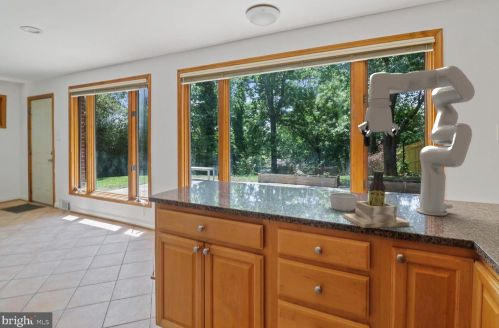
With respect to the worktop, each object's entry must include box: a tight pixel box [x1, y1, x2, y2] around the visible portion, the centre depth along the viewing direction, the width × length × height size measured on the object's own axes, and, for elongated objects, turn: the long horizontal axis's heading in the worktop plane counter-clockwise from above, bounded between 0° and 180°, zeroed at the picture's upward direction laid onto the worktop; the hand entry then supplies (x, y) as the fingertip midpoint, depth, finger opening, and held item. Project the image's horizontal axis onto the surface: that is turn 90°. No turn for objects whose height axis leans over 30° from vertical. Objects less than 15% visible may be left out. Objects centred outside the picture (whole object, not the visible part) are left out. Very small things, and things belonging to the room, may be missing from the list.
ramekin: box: [329, 192, 358, 212], centre depth 143 cm, size 13×13×7 cm
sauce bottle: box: [367, 170, 386, 207], centre depth 119 cm, size 7×6×20 cm
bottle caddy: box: [343, 200, 411, 229], centre depth 120 cm, size 20×16×8 cm
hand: (377, 146), depth 118 cm, fingers open, 9 cm apart
